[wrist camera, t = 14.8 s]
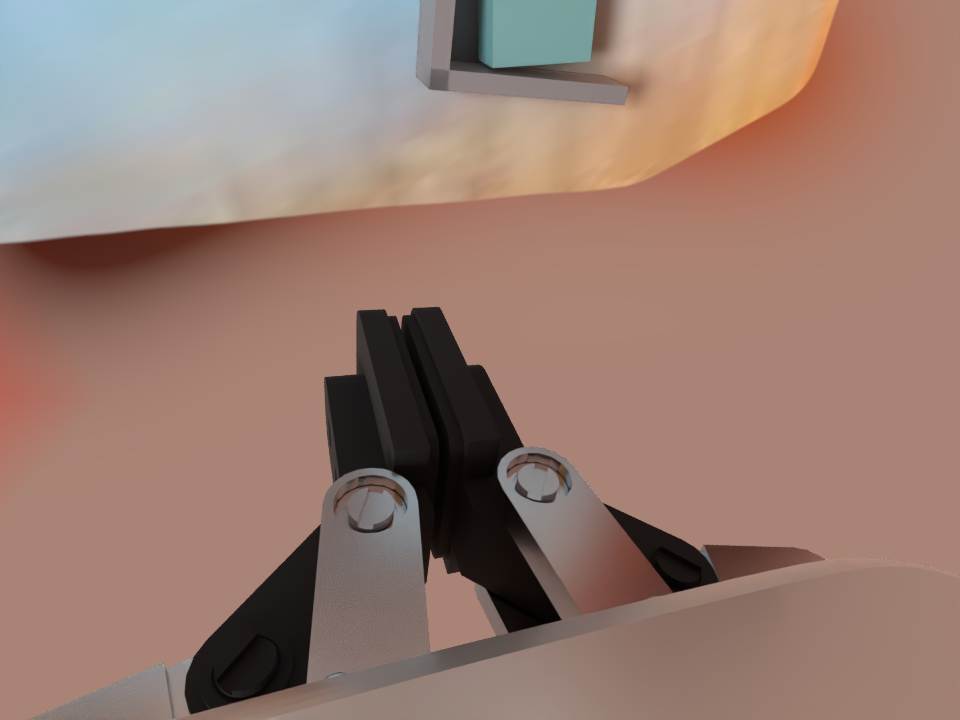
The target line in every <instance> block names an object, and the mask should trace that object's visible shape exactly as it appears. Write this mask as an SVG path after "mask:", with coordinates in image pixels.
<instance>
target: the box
mask: <svg viewBox="0 0 960 720" xmlns="http://www.w3.org/2000/svg"><path fill="white" fill-rule="evenodd" d="M455 2H456V0H420V16H419V34H418V51H417V69H416V77H417V78H418V79H419V80H420V81H421V82H422V83H423V84H424V85H425V86H426V87H427V88H428V89H430V90H442V91H454V92H467V93H479V94H491V95H504V96H516V97H529V98H541V99H553V100H566V101H578V102H590V103H603V104H615V105H624V104H625V101H626V97H627V93H628V89H629V87H628V86H626V85H624V84H621V83H619V82H617V81H614V80H612V79H610V78H607V77H605V76H603V75H593V74H583V73H573V72H563V71H553V70H543V69H532V68H522V67H501V68H492V67H490V66H488V65H487V64H482V63H472V62H462V61H452V60H451V48H452V37H453V25H454V14H455Z"/></svg>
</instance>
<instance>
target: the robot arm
mask: <svg viewBox="0 0 960 720" xmlns="http://www.w3.org/2000/svg"><path fill="white" fill-rule="evenodd" d="M324 380H325V381H324V388H325V411H326V425H327V437H328V446H329V454H330V461H331V469H332V477H333V484H332V486H331V487H330V488H329V490H328V491H327V492H326V495H325V498H324V501H323V507H322V518H321V524H320V525H319V526H318V527H317V528H316V529H315V530H314V531H313V533H311V534H310V535H309V537H307V539H306V540H305V541H304V542H303V543H302V544H301V545H300V546H299V547H298V548H297V549H296V550H295V551H294V552H293V553H292V554H291V555H290V556H289V557H288V558H287V559H286V560H285V561H284V562H283V563H282V564H281V565H280V566H279V567H278V568H277V569H276V570H275V571H274V572H273V573H272V574H271V575H270V576H269V577H268V578H267V579H266V580H265V581H264V582H263V584H261V585H260V587H258V588H257V589H256V590H255V591H254V593H253V594H252V595H251V596H250V597H249V598H248V599H247V600H246V601H245V602H244V603H243V604H242V605H241V606H240V607H239V608H238V609H237V610H236V611H235V612H234V613H233V614H232V615H231V616H230V617H229V618H228V619H227V620H226V621H225V622H224V623H223V624H222V625H221V626H220V627H219V628H218V629H217V630H216V631H215V632H214V633H213V634H212V635H211V636H210V637H209V638H208V640H207V641H206V642H205V643H204V644H203V646H202V647H201V648H200V649H199V651H198V652H197V653H196V655H195V656H194V657H192V658H189V659H187V660H185V661H183V662H180V663H178V664H176V665H173V666H171V667H169V668H166V667H165V664H164V663H161V664H158V665H156V666H153V667H151V668H149V669H146V670H144V671H142V672H140V673H137V674H135V675H132V676H130V677H128V678H125V679H123V680H121V681H118V682H116V683H114V684H111V685H109V686H107V687H104V688H102V689H99V690H97V691H95V692H92V693H90V694H88V695H85V696H83V697H80V698H78V699H76V700H73V701H71V702H69V703H66V704H64V705H62V706H59V707H57V708H55V709H52V710H50V711H47V712H46V713H43V714H40V715H38V716H36V717H34V718H31V719H29V720H960V576H958V575H955V574H953V573H950V572H947V571H944V570H941V569H938V568H934V567H930V566H926V565H921V564H915V563H909V562H903V561H898V560H892V559H873V558H845V559H844V558H843V559H830V560H825V559H823V558H822V557H821V556H819V555H817V554H814V553H812V552H810V551H808V550H805V549H799V548H793V547H762V546H729V545H703V547H702V549H701V550H697V549H696V548H695V547H693V546H692V545H690V544H688V543H687V542H685V541H683V540H681V539H679V538H677V537H675V536H673V535H671V534H669V533H666V532H664V531H662V530H660V529H658V528H656V527H653V526H651V525H649V524H647V523H645V522H643V521H641V520H638V519H636V518H634V517H632V516H630V515H628V514H625V513H623V512H621V511H619V510H617V509H615V508H613V507H611V506H608V505H606V504H604V503H602V502H601V500H600V499H599V498H598V497H597V495H596V494H595V493H594V491H593V490H592V489H591V488H590V486H589V485H588V484H587V483H586V481H585V480H584V479H583V478H582V477H581V475H580V474H579V472H578V471H577V470H576V469H575V467H574V466H573V465H572V464H571V463H570V462H569V461H568V460H567V459H566V458H564V457H562V456H561V455H559V454H557V453H556V452H553V451H550V450H547V449H544V448H539V447H524V446H523V444H522V442H521V440H520V438H519V436H518V434H517V432H516V430H515V428H514V426H513V424H512V422H511V420H510V418H509V416H508V414H507V412H506V410H505V409H504V406H503V404H502V403H501V401H500V399H499V397H498V395H497V393H496V391H495V389H494V387H493V385H492V383H491V381H490V379H489V377H488V375H487V373H486V371H485V369H484V368H483V367H482V366H481V365H468V366H467V364H466V362H465V359H464V357H463V355H462V353H461V351H460V349H459V347H458V344H457V342H456V340H455V338H454V336H453V334H452V332H451V330H450V327H449V325H448V323H447V321H446V319H445V317H444V315H443V313H442V311H441V309H440V308H439V307H428V308H413V309H412V311H411V315H404V316H403V317H402V326H401V329H400V326H399V323H398V320H397V317H396V316H387V313H386V311H385V310H384V309H383V310H360V311H357V375H346V376H334V377H333V376H332V377H325V378H324ZM430 550H431V552H432V555H433V557H434V558H435V559H436V558H442V557H443V560H444V563H445V567H446V570H447V573H448V574H450V573H455V572H460V573H461V575H462V576H464V577H466V578H468V579H470V580H471V581H473V582H474V589H475V592H476V595H477V598H478V600H479V602H480V604H481V606H482V608H483V610H484V612H485V614H486V616H487V618H488V620H489V622H490V624H491V626H492V628H493V630H494V632H495V634H496V637H492V638H488V639H483V640H479V641H475V642H471V643H467V644H463V645H459V646H455V647H451V648H447V649H443V650H439V651H436V652H431V653H430V644H429V632H428V619H427V607H426V596H425V583H426V582H427V574H428V566H429V558H430Z"/></svg>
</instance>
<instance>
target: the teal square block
mask: <svg viewBox="0 0 960 720" xmlns="http://www.w3.org/2000/svg"><path fill="white" fill-rule="evenodd" d="M596 3H597V0H478V60H480V61H482V62H483V63H485V64H487V65H488V66H490V67H492V68H501V67H516V66H531V65H545V64H560V63H575V62H590V60H591V50H592V41H593V31H594V22H595V12H596Z"/></svg>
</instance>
